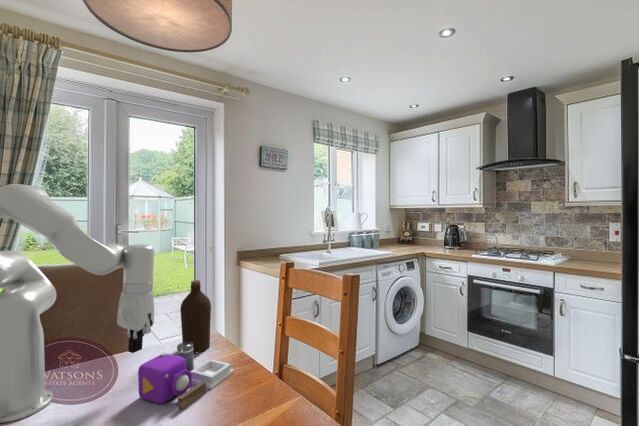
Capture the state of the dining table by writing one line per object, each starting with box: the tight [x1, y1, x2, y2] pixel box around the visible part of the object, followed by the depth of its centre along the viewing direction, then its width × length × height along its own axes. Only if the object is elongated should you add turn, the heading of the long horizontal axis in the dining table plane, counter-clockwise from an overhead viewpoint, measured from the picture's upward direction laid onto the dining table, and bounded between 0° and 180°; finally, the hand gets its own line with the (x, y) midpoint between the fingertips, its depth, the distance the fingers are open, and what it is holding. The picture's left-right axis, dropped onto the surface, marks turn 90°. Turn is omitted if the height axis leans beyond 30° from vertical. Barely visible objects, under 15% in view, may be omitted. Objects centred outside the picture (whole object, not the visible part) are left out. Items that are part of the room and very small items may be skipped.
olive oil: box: [179, 279, 212, 354], centre depth 118 cm, size 11×11×25 cm
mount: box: [190, 358, 234, 390], centre depth 98 cm, size 9×10×3 cm
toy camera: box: [137, 352, 192, 405], centre depth 89 cm, size 11×14×10 cm
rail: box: [177, 381, 207, 411], centre depth 86 cm, size 2×8×3 cm, turn 157°
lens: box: [176, 342, 195, 371], centre depth 103 cm, size 5×5×8 cm
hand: (135, 350), depth 92 cm, fingers closed
